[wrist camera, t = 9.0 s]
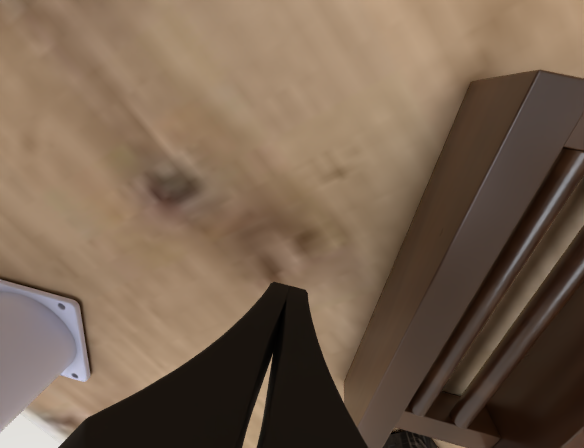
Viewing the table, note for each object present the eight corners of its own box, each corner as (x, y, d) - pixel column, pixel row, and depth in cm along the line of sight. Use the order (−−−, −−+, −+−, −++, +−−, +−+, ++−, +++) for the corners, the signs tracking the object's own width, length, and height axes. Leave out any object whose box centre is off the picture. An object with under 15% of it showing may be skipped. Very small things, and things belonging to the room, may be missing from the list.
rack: (343, 382, 18) (346, 532, 12) (471, 80, 11) (665, 46, 4) (497, 425, 18) (586, 605, 11) (744, 138, 10) (1420, 195, 4)
